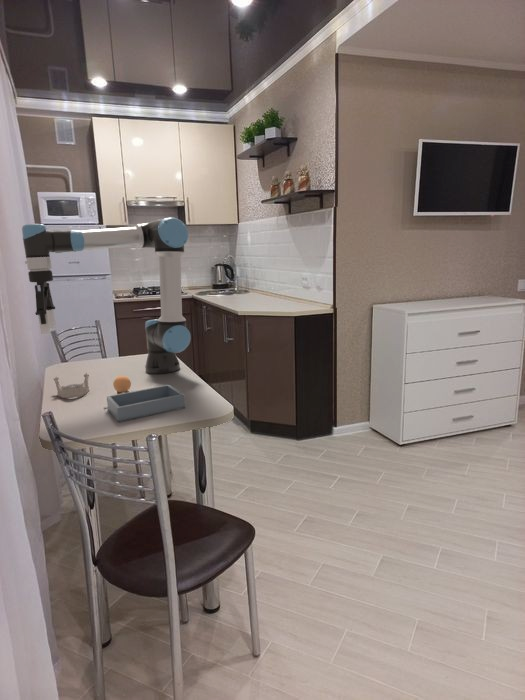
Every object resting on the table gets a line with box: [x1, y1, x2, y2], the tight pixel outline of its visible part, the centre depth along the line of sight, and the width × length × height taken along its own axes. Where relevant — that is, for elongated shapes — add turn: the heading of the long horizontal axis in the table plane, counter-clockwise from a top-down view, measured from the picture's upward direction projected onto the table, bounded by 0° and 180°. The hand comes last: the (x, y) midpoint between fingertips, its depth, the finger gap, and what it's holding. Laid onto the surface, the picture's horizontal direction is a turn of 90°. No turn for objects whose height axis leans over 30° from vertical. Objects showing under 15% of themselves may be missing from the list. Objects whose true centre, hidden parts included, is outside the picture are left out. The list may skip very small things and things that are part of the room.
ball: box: [113, 375, 132, 393], centre depth 163 cm, size 6×6×6 cm
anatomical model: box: [53, 372, 91, 399], centre depth 173 cm, size 13×11×10 cm
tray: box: [106, 384, 186, 423], centre depth 154 cm, size 22×15×5 cm
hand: (48, 330), depth 164 cm, fingers open, 13 cm apart
